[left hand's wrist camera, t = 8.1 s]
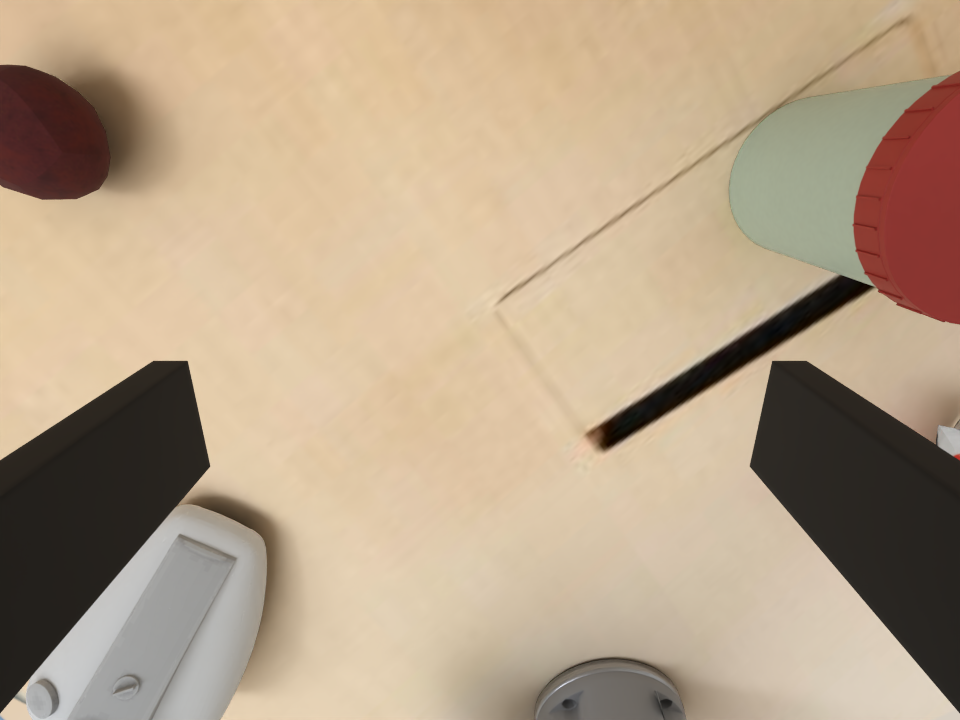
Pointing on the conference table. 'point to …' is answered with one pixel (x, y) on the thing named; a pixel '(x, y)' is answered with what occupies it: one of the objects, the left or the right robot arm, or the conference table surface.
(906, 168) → the lid
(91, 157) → the potato
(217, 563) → the projector
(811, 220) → the jar
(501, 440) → the conference table surface
